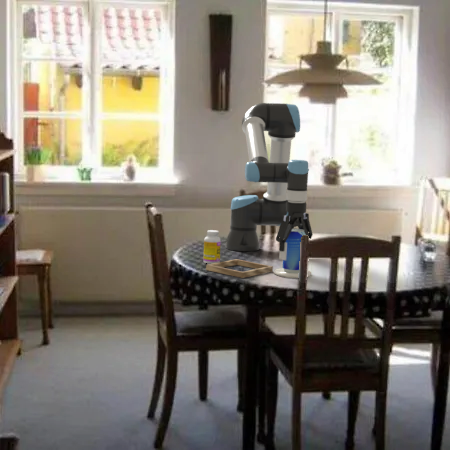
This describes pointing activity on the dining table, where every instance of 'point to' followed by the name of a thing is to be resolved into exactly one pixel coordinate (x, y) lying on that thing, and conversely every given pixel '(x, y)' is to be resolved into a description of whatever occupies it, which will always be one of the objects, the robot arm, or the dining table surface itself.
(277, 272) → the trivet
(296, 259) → the beer can
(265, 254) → the dining table surface
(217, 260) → the supplement bottle
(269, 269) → the oak frame
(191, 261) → the dining table surface
